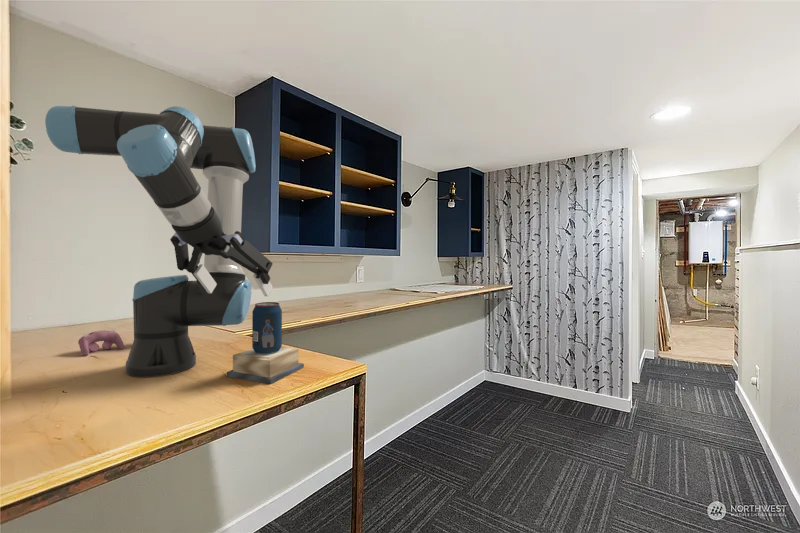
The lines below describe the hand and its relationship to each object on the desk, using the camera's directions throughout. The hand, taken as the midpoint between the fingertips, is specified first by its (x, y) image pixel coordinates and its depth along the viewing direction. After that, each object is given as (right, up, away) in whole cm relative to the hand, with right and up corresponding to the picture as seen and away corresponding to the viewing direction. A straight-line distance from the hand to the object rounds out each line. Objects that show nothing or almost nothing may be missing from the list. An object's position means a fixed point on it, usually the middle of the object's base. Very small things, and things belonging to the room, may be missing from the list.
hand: (240, 290), depth 83 cm
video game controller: (-52, -20, +26) cm, 61 cm away
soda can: (+2, -16, +11) cm, 20 cm away
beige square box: (+2, -21, +12) cm, 24 cm away
